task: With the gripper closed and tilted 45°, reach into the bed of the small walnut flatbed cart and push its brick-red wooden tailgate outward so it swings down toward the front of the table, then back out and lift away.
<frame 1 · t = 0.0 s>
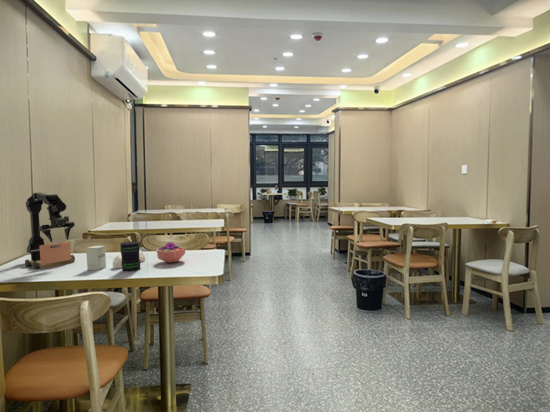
hand: (59, 240, 245), 15 cm above the table, tool pointing down, fingers open, 9 cm apart
storage jar: (131, 270, 229), on the table
cell model: (171, 262, 246), on the table
tailgate: (56, 252, 249), point 8 cm above the table, hinge at 0.0°
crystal: (129, 264, 245), on the table
supplement box: (97, 269, 236), on the table
cart bed: (50, 264, 255), on the table
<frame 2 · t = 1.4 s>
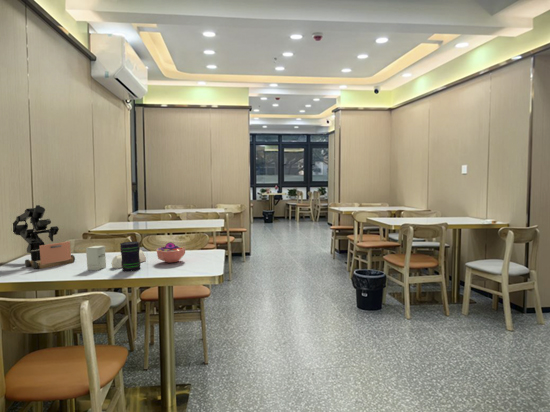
hand: (46, 242, 256), 14 cm above the table, tool tilted 45°, fingers open, 7 cm apart
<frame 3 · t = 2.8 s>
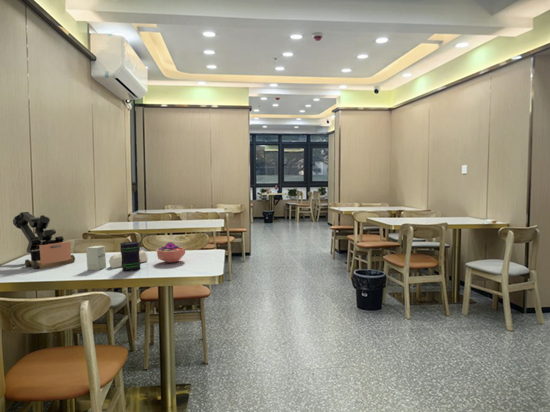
hand: (51, 252, 253), 7 cm above the table, tool tilted 45°, fingers closed
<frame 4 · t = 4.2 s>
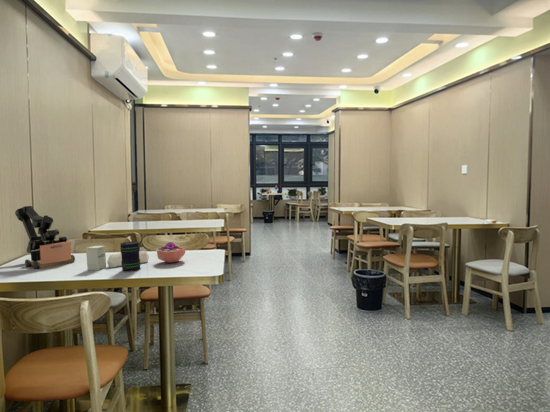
hand: (55, 253, 250), 7 cm above the table, tool tilted 45°, fingers closed, pressing on tailgate
tailgate: (56, 252, 249), point 8 cm above the table, hinge at 3.1°, touching gripper
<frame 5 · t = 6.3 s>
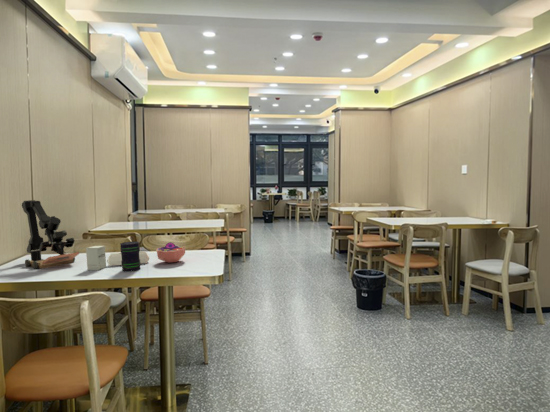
hand: (62, 255, 244), 7 cm above the table, tool tilted 45°, fingers closed, pressing on tailgate
tailgate: (60, 259, 246), point 5 cm above the table, hinge at 66.9°, touching gripper
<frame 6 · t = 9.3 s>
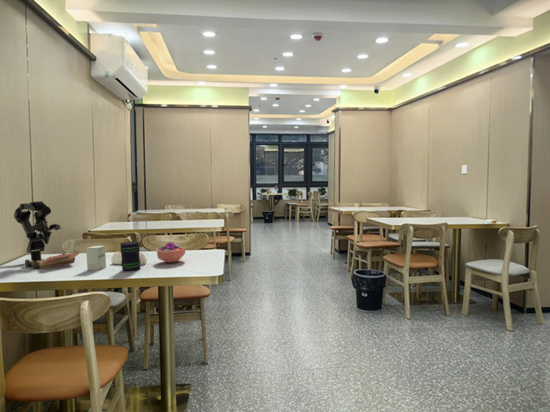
hand: (46, 244, 256), 12 cm above the table, tool tilted 20°, fingers closed
tailgate: (60, 259, 246), point 5 cm above the table, hinge at 67.0°
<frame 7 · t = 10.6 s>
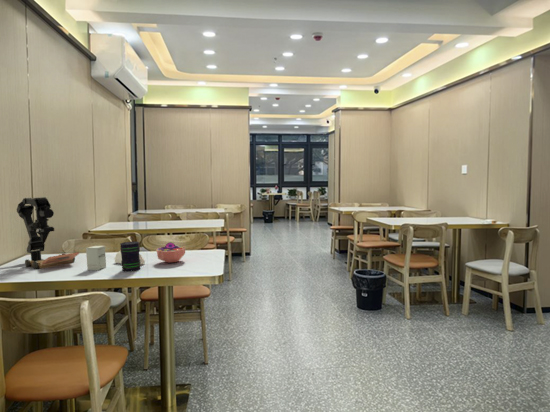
hand: (43, 242, 259), 13 cm above the table, tool pointing down, fingers closed
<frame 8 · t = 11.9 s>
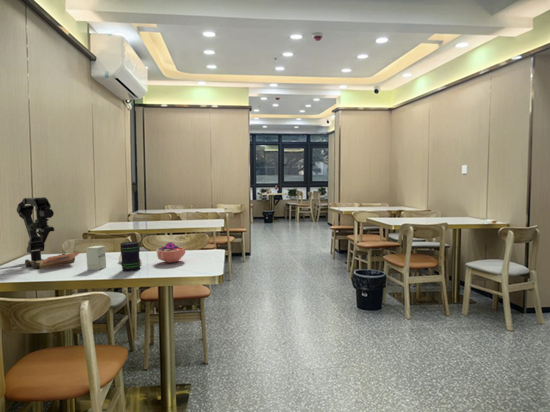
hand: (43, 242, 259), 13 cm above the table, tool pointing down, fingers closed
at the end: tailgate at +67° (first picture: +0°) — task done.
